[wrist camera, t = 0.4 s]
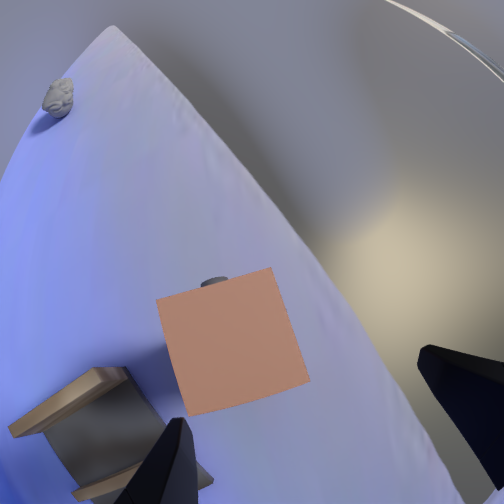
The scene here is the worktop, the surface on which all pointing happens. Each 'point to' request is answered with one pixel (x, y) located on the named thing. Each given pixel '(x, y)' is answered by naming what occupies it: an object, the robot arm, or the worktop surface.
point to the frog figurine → (59, 98)
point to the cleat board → (99, 431)
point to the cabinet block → (231, 342)
